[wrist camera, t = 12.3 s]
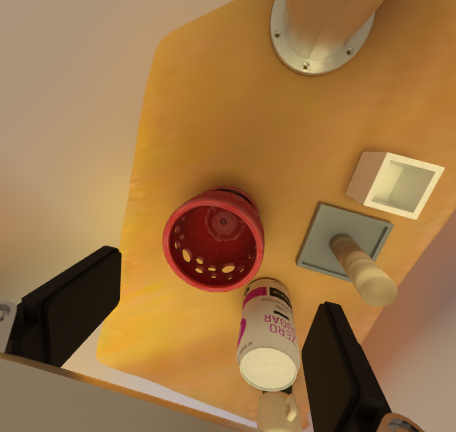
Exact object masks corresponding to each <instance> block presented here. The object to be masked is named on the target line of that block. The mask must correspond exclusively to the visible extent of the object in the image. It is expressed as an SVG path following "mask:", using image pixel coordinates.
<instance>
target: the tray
mask: <svg viewBox="0 0 456 432" xmlns="http://www.w3.org/2000/svg"><path fill="white" fill-rule="evenodd" d="M393 226H394V224H392V223H390V222H389V221H385V220H382V219H378V218H375V217H371V216H368V215H364V214H361V213H357V212H354V211H350V210H346V209H343V208H339V207H336V206H332V205H329V204H325V203H322V202H319V203H318V206H317V208H316V211H315V213H314V216H313V218H312V221H311V223H310V226H309V228H308V231H307V233H306V236H305V238H304V241H303V243H302V246H301V248H300V251H299V254H298V256H297V259H296V265H297V266H300V267H303V268H306V269H309V270H313V271H316V272H319V273H323V274H326V275H329V276H332V277H336V278H339V279H342V280H346V281H349V282H351V280H350V279H349V277H348V275H347V274H346V272H345V271H344V269H343V268H342V266H341V265H340V263H339V262H338V260H337V258H336V257H335V255H334V254H333V252H332V251H331V249H330V247H329V242H330V240H331V238H332V237H333V236H335V235H337V234H347V235H349V236H350V237H351V238H352V239H353V240H354V241H355V242H356V243H357V244H358V245H359V246H360V247H361V248H362V249H363V251H364V252H365V253H366V254H367V255H368V256H369V257H370V258H371V259H372V260H373V261H374V262H375V261H376V259H377V257H378V255H379V253H380V251H381V249H382V247H383V245H384V243H385V241H386V240H387V238H388V236H389V234H390V232H391V230H392V228H393Z"/></svg>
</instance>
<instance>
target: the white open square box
mask: <svg viewBox="0 0 456 432" xmlns="http://www.w3.org/2000/svg"><path fill="white" fill-rule="evenodd" d="M444 169H445V167H441V166H437V165H434V164H430V163H426V162H422V161H418V160H415V159H411V158H407V157H403V156H399V155H396V154H392V153H388V152H368V151H363V153H362V155H361V158H360V160H359V162H358V165H357V167H356V169H355V172H354V174H353V176H352V179H351V181H350V183H349V186H348V188H347V190H346V192H345V195H347V196H349V197H350V198H352V199H354V200H355V201H357V202H359V203H361V204H362V205H365V206H368V207H372V208H376V209H379V210H383V211H386V212H390V213H393V214H397V215H401V216H404V217H408V218H411V219H415V220H416V219H417V218H418V216H419V214H420V212H421V210H422V209H423V207H424V205H425V203H426V201H427V199H428V198H429V196H430V194H431V192H432V190H433V189H434V187H435V185H436V183H437V181H438V180H439V178H440V176H441V174H442V172H443V171H444Z"/></svg>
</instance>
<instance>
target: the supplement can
mask: <svg viewBox="0 0 456 432" xmlns="http://www.w3.org/2000/svg"><path fill="white" fill-rule="evenodd" d="M237 362H238V364H239V366H240V371H241V373H242V376H243V378H244V379H245V380H246V381H247V382H248V383H249V384H250V385H252V386H254V387H255V388H257V389H261V390H264V391H279V390H283V389H286V388H287V387H289V386H290V385H292V383H293V382H294V380H295V379H296V374H297V372H298V370H299V367H300V354H299V348H298V342H297V336H296V330H295V324H294V319H293V313H292V307H291V301H290V296H289V293H288V290H287V289H286V288H285V287H284V286H283V285H282V284H281V283H279V282H277V281H275V280H271V279H260V280H257V281H255V282H253V283H251V284H250V285H249V286H248V287H247V289H246V291H245V294H244V302H243V309H242V317H241V324H240V331H239V339H238V346H237Z"/></svg>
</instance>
